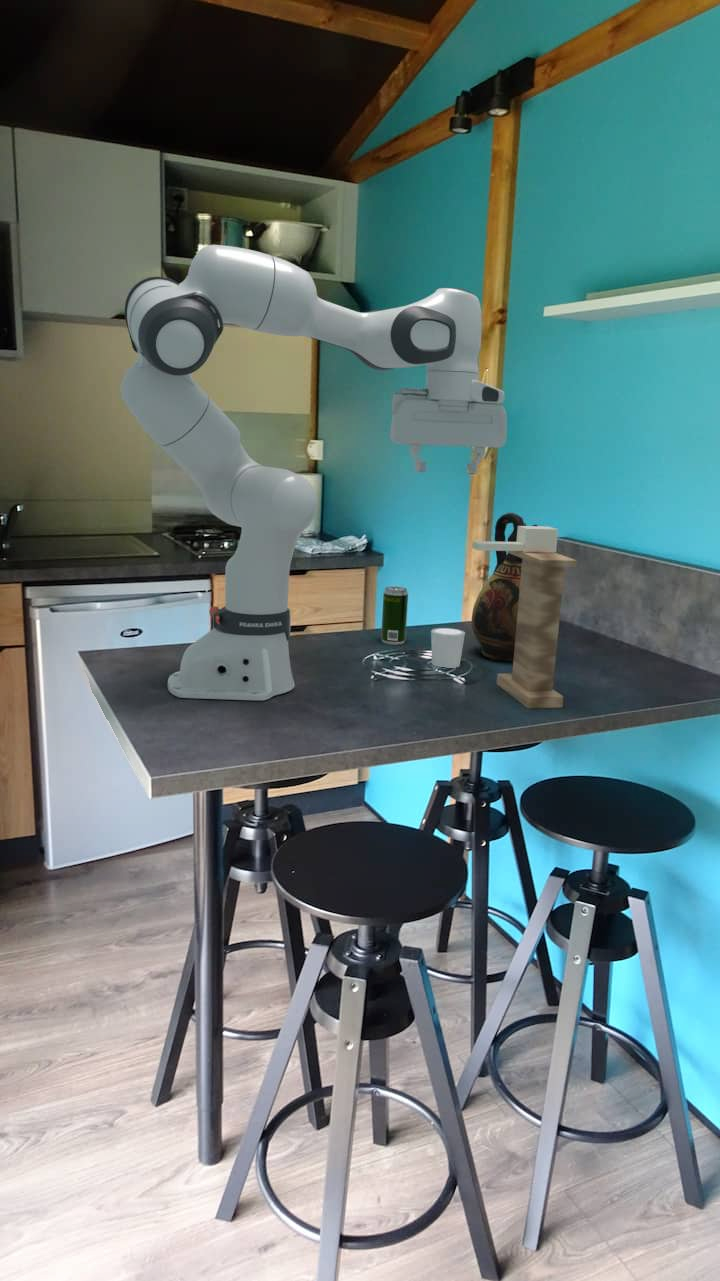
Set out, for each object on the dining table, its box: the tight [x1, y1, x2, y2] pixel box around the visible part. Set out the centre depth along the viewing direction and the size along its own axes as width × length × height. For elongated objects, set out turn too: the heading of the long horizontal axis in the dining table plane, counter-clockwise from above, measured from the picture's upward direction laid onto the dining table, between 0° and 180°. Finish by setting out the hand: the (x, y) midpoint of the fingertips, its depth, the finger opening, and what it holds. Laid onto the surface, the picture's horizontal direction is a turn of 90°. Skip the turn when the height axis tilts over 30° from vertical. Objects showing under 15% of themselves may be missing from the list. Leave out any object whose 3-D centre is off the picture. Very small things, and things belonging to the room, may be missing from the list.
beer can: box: [380, 586, 409, 646], centre depth 202 cm, size 5×5×12 cm
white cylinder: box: [430, 627, 466, 669], centre depth 186 cm, size 7×7×7 cm
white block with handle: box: [471, 525, 559, 553], centre depth 164 cm, size 14×4×4 cm, turn 103°
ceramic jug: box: [471, 512, 538, 663], centre depth 194 cm, size 17×15×30 cm
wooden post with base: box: [496, 551, 578, 709], centre depth 166 cm, size 6×15×26 cm, turn 13°
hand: (446, 472), depth 161 cm, fingers open, 8 cm apart
